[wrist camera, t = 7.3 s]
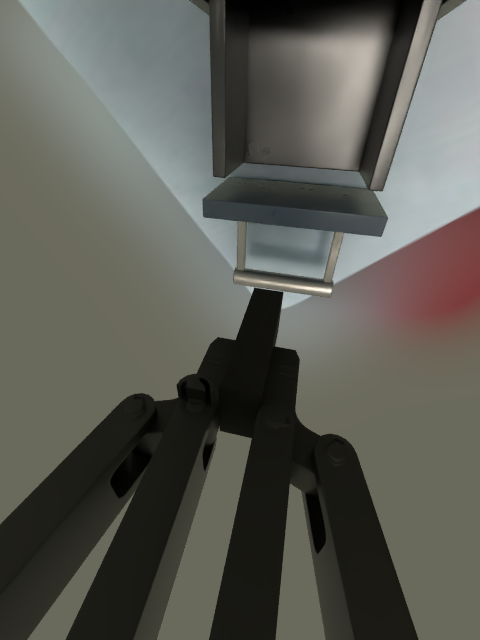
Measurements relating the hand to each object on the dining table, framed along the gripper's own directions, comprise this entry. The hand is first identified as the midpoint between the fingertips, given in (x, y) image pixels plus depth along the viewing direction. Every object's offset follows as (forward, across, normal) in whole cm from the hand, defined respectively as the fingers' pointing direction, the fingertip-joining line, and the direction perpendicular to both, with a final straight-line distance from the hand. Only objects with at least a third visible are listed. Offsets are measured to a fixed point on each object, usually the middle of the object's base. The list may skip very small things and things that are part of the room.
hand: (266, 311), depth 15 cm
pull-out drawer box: (+13, 0, +6) cm, 14 cm away
